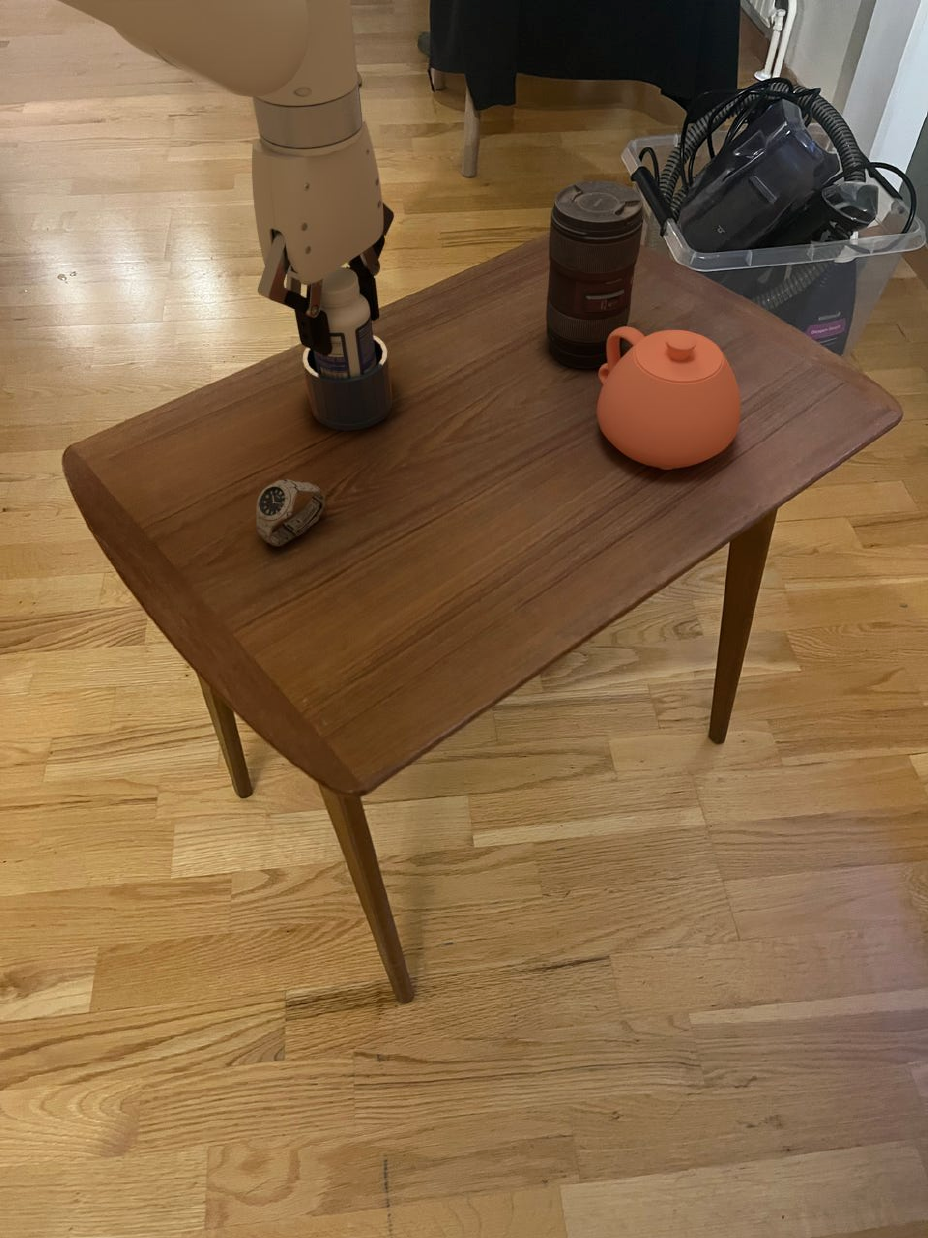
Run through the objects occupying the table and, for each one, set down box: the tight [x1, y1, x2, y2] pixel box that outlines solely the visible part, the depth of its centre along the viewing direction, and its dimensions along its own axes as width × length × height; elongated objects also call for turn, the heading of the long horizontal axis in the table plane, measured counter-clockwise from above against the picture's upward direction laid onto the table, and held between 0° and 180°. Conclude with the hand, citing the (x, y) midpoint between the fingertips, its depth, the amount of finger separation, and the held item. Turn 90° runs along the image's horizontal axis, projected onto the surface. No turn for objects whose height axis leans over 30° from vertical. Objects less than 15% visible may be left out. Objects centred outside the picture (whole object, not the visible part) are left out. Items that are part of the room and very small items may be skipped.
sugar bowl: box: [596, 325, 742, 471], centre depth 78 cm, size 12×14×10 cm
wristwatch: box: [255, 478, 326, 548], centre depth 74 cm, size 4×6×5 cm, turn 135°
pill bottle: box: [314, 266, 377, 378], centre depth 79 cm, size 5×5×10 cm
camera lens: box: [545, 180, 645, 369], centre depth 84 cm, size 8×8×15 cm
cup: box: [301, 334, 394, 432], centre depth 83 cm, size 8×8×6 cm
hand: (340, 329), depth 79 cm, fingers closed on pill bottle, 5 cm apart
